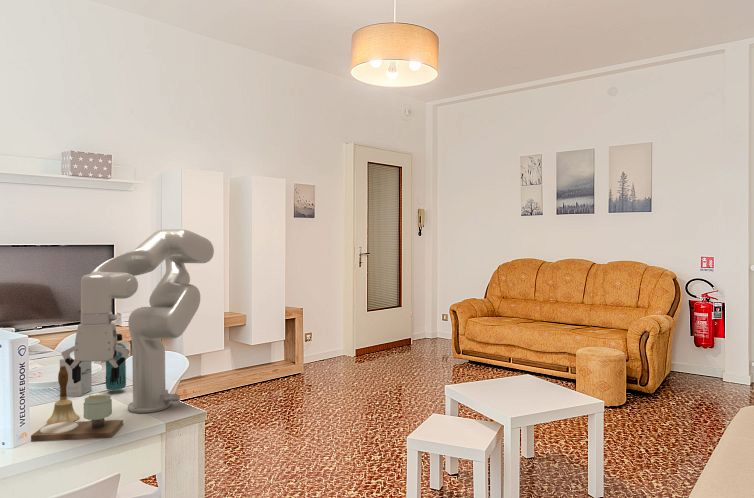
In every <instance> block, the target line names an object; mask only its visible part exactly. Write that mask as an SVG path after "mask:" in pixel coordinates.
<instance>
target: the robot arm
mask: <svg viewBox="0 0 754 498" xmlns="http://www.w3.org/2000/svg"><path fill="white" fill-rule="evenodd" d="M214 248H215V247H214V245H213V243H212V242H211V241H210V240H209V239H208V238H206V237H204V236H202V235H200V234H198V233H195V232H193V231H190V230H188V229H180V228H179V229H175V228H174V229H173V228H172V229H159V230H157V231H155V232H153V233H152V234H151V235H150V236H148V238H146V239H145V240H144V241H143V242H141V243H140V244H139V245H138V246H137V247H136V248H134V249H132V250H130V251H127V252H124V253H123V254H122V253H121V254H119V255H117V256H115V257H112V258H110V259H108V260H106V261H104V262H102V263H101V264H100V265H99V266H97V267H95V269H94V270H92V271H91V272H90V273H88V274H84V275H82V277H81V279H80V323H79V324H78V325H77V328H76V333H75V339H74V340H75V341H74V345H73V346H72V347H70V348H67V349H65V350H64V351H62V352H61V355H62V358H64V359H65V362H66V363H67V364H68V365H69V366H70V368H71V369H72V380H74V383H77V382H79V381H81V367H80V366H79V364H80V363H81V362H91V363H93V362H106V361H109V362H110V363H111V365H112V366H113V368H111V382H112V383H114V382H116V381H117V380H118V378H119V366H120V365H121V364H122V363H123V362H124V361H125V360H127V358H128V356H129V354H131V353H130V352H131V351H132V357H131V359H132V401H131V402H130V403H129V404H128V405H127V410H128V411H129V412H131V413H135V414H139V413H140V414H146V413H147V414H148V413H155V412H159V411H162V410H166V409H168V408H170V406H171V405H172V402H179V401H180V399H181V398H180V394H178V393H170V392H169V389H166V349H165V345H164V343H163V341H162V340H161V339H177V338H179V337H181V336H182V335H183V334H184V333H185V331H186V330H187V328H188V326H189V325H190V323H191V321H192V320H193V318H194V316H195V315H196V313H197V312H198V309H199V307H200V304H201V293H200V290H199V288H198V287H197V286H196V285H194V284H191V283H190V281H191V276H190V273H189V272H188V270H187V268H186V265H185V264H206V263H209V262H210V261H211V260H212V259H213V257H214V253H215V252H214V251H215V250H214ZM164 261H165V273H164V275H163V276H162V278H161V279H160V281H158V283H157V285H156V286H155V287H154V289H153V291H152V292H151V294H150V296H149V302H148V303H149V306H140V307H138V308H136V309H134V310H132V312H131V313H130V315H129V316H128V325H127V326H128V330H129V331H128V332H129V334H130V340H131V346H132V347H131V349H132V350H130V349H128V348H123V347H121V346H119V345H118V343H119V341H117V334H118V333H117V329H116V324H115V323H114V322H113V321H116V320H117V319H118V316H117V314H113V312H112V300H113V299H119V300H121V299H122V300H123V299H124V300H125V299H129V298H131V297H132V296H134V295H135V294H136V292H137V291H138V288H139V282H138V280H137V278H136V276H141V275H144V274H148V273H150V272H151V273H152V272H153V271H155V270H156V269H157V268H158V267H159V266H160V265H161V264H162V263H163V262H164ZM118 352H121V353H122V357H121V358H120V359H119V360H118V359H117V358H116V357H117V355H118ZM71 353H74V354H73V355H74V357H75V361H74V360H73V359H72V358H71V357H70V355H71Z"/></svg>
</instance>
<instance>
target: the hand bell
mask: <svg viewBox="0 0 754 498" xmlns="http://www.w3.org/2000/svg"><path fill="white" fill-rule="evenodd" d="M57 376H58V377H57V380H58V385H59V400H57V401H56V402H55V403H54V408H53V411H52V415H50V417H49V418H48V419H47V421H46V424H47V423H55V422H78V420H79V419H80V415H78V413H76V411H75V410H74V406H73V401H72V400H70V399H69V398H68V396H67V392H66V386H67V383H68V372H67V369H66V366H61V367H60V366H59V371H58V374H57Z"/></svg>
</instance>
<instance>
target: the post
mask: <svg viewBox="0 0 754 498" xmlns="http://www.w3.org/2000/svg"><path fill="white" fill-rule="evenodd" d="M90 421H92V428H93V429H97V428H102V427H104V426H105V418H103V419H98V420H90Z"/></svg>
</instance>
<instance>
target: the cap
mask: <svg viewBox="0 0 754 498" xmlns="http://www.w3.org/2000/svg"><path fill="white" fill-rule="evenodd" d="M111 398H112V397H111V395H110V394H106V393H105V394H93V395H88V396H87V397H85V398H84V402H83V419H85V420H87V421H91V420H98V419H103V418H104V419H106V418H109V417H110V416H111V415H112V414H113V406H112V405H113V402H112V399H111Z"/></svg>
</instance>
